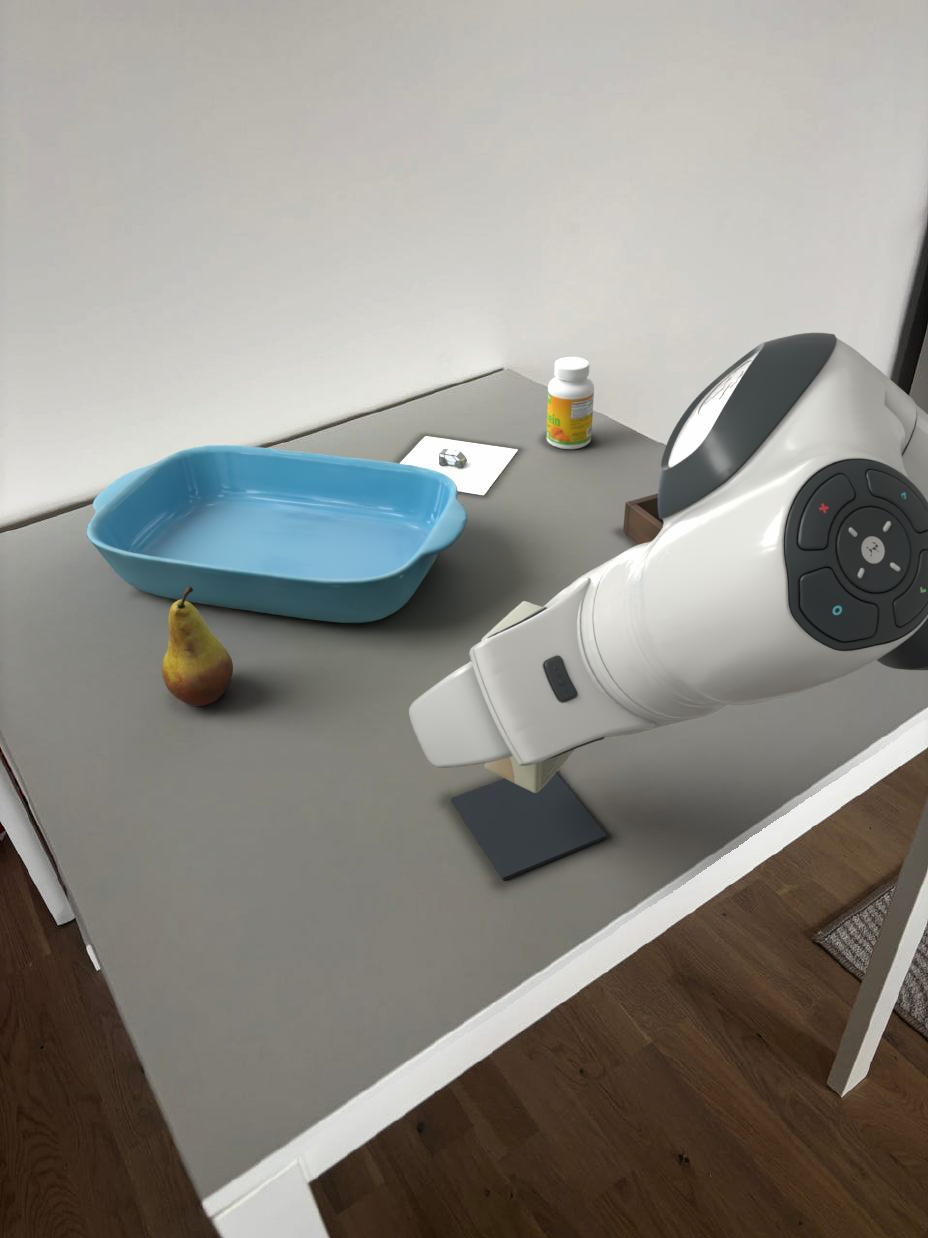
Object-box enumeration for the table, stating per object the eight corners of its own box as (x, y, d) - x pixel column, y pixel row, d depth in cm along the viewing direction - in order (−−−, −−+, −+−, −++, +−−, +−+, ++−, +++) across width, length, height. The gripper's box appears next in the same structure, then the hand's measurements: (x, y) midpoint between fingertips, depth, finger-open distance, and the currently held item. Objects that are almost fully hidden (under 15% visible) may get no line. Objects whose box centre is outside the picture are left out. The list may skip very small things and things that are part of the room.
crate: (811, 564, 94) (818, 532, 92) (705, 598, 89) (709, 566, 87) (721, 503, 104) (726, 474, 102) (622, 532, 99) (625, 501, 97)
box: (523, 726, 68) (526, 596, 61) (577, 751, 66) (586, 618, 59) (480, 770, 64) (478, 637, 58) (535, 798, 62) (539, 662, 56)
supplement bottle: (538, 436, 118) (540, 358, 113) (577, 427, 120) (581, 351, 114) (559, 453, 114) (562, 374, 109) (599, 444, 116) (604, 366, 110)
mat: (606, 838, 66) (606, 835, 66) (503, 880, 64) (503, 878, 63) (547, 764, 72) (548, 761, 72) (450, 801, 69) (450, 798, 69)
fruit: (244, 672, 82) (220, 551, 75) (230, 717, 77) (203, 593, 70) (178, 673, 82) (148, 552, 75) (161, 718, 77) (127, 594, 70)
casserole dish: (56, 601, 91) (34, 535, 87) (177, 491, 109) (164, 432, 104) (427, 663, 82) (423, 593, 78) (495, 532, 100) (494, 470, 96)
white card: (483, 495, 106) (483, 483, 105) (384, 479, 110) (383, 467, 109) (518, 449, 115) (518, 437, 114) (425, 436, 119) (424, 424, 118)
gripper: (758, 525, 54) (628, 589, 67) (449, 654, 45) (366, 701, 58) (806, 628, 54) (666, 674, 66) (504, 779, 45) (408, 799, 57)
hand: (524, 687), depth 62 cm, fingers closed on box, 6 cm apart
